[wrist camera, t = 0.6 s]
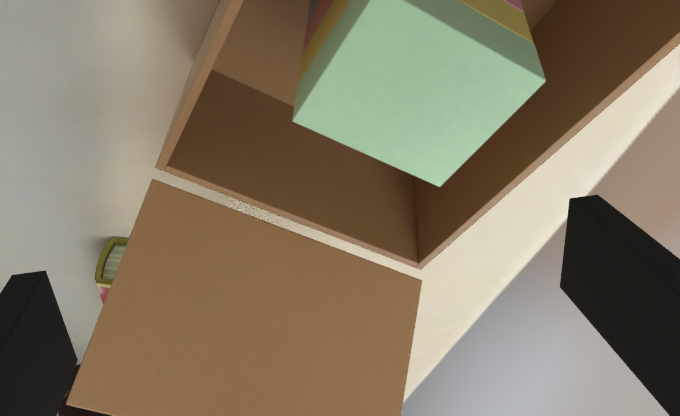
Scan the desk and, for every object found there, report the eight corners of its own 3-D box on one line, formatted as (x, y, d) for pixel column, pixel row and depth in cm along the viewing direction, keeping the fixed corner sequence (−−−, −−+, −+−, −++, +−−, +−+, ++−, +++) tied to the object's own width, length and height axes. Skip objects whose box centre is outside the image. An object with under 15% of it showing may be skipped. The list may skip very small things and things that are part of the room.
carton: (414, 162, 35) (420, 270, 30) (193, 62, 31) (154, 168, 25) (690, -140, 23) (784, -48, 18) (388, -386, 18) (393, -362, 13)
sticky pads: (378, -123, 23) (378, -14, 18) (508, -41, 26) (547, 81, 20) (310, -1, 27) (291, 121, 21) (427, 61, 30) (439, 188, 24)
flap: (422, 280, 29) (417, 281, 30) (152, 178, 25) (151, 181, 25) (390, 481, 26) (385, 479, 26) (65, 404, 21) (65, 404, 21)
